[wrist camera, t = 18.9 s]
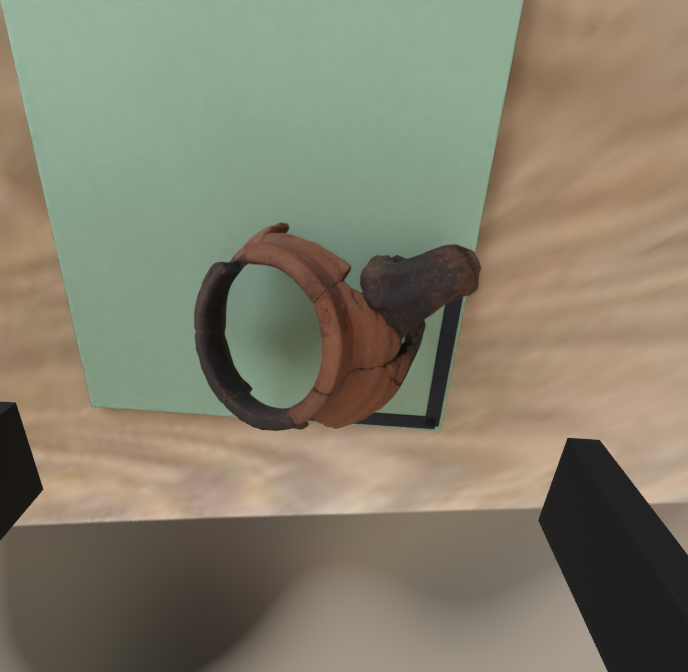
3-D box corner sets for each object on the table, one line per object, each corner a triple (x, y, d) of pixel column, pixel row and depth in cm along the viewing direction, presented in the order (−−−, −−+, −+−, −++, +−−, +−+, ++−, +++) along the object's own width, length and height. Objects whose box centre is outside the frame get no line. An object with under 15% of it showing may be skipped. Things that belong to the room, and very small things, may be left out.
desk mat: (96, 401, 26) (89, 408, 25) (-12, -99, 16) (-27, -109, 16) (439, 425, 26) (441, 432, 25) (531, -63, 16) (538, -71, 16)
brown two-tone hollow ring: (337, 419, 26) (238, 485, 19) (265, 276, 26) (144, 287, 19) (539, 329, 19) (504, 376, 12) (437, 145, 20) (350, 91, 13)
